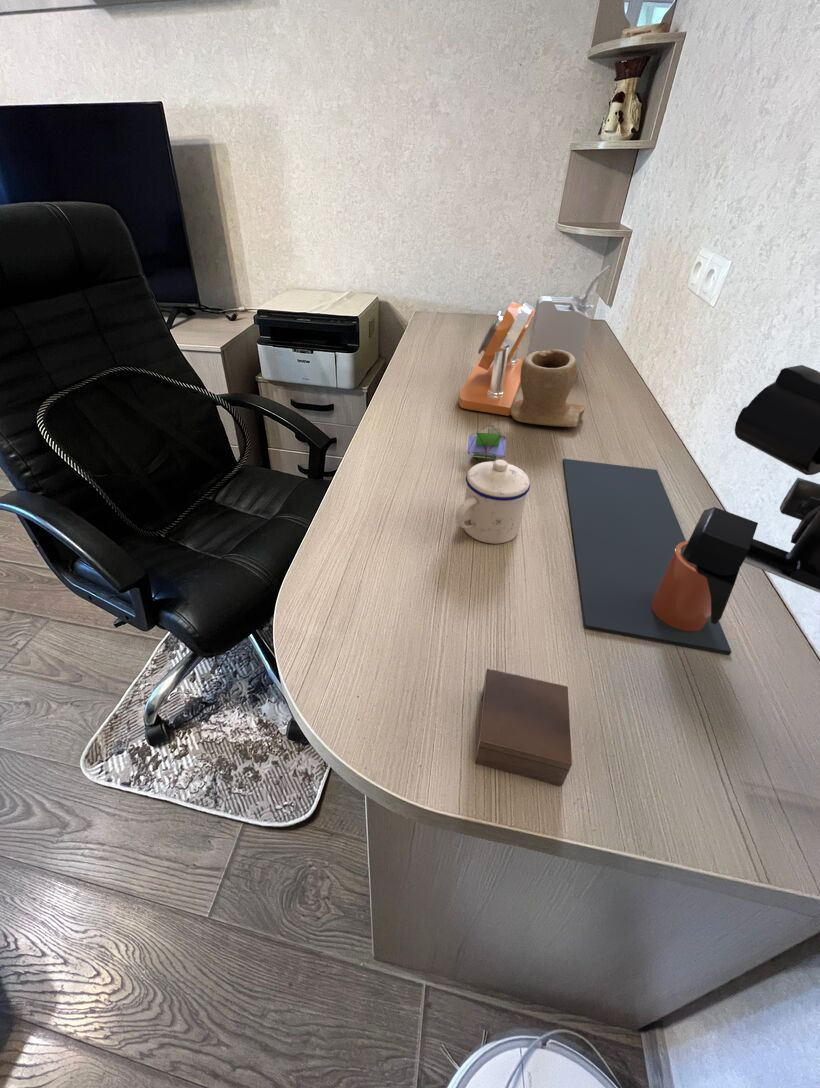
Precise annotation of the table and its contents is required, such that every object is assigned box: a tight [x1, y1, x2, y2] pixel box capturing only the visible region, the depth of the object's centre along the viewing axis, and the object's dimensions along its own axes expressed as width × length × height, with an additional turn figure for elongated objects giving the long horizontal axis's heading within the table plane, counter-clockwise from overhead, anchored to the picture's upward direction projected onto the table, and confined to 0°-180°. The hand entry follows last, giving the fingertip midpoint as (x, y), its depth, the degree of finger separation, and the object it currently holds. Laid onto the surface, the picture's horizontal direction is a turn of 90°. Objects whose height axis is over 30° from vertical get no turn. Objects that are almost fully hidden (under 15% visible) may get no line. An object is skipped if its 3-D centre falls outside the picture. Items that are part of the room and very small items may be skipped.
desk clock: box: [458, 301, 536, 417], centre depth 115 cm, size 12×30×20 cm, turn 159°
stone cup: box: [509, 349, 587, 428], centre depth 102 cm, size 15×12×15 cm
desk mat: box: [562, 458, 733, 655], centre depth 75 cm, size 40×16×1 cm, turn 166°
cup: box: [651, 540, 711, 631], centre depth 60 cm, size 6×6×9 cm
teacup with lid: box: [455, 459, 531, 545], centre depth 73 cm, size 12×9×12 cm
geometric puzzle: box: [466, 423, 507, 462], centre depth 91 cm, size 7×7×8 cm
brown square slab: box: [474, 668, 573, 787], centre depth 49 cm, size 8×8×4 cm
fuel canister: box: [526, 265, 612, 372], centre depth 124 cm, size 15×5×25 cm, turn 80°
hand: (772, 648), depth 44 cm, fingers open, 9 cm apart
